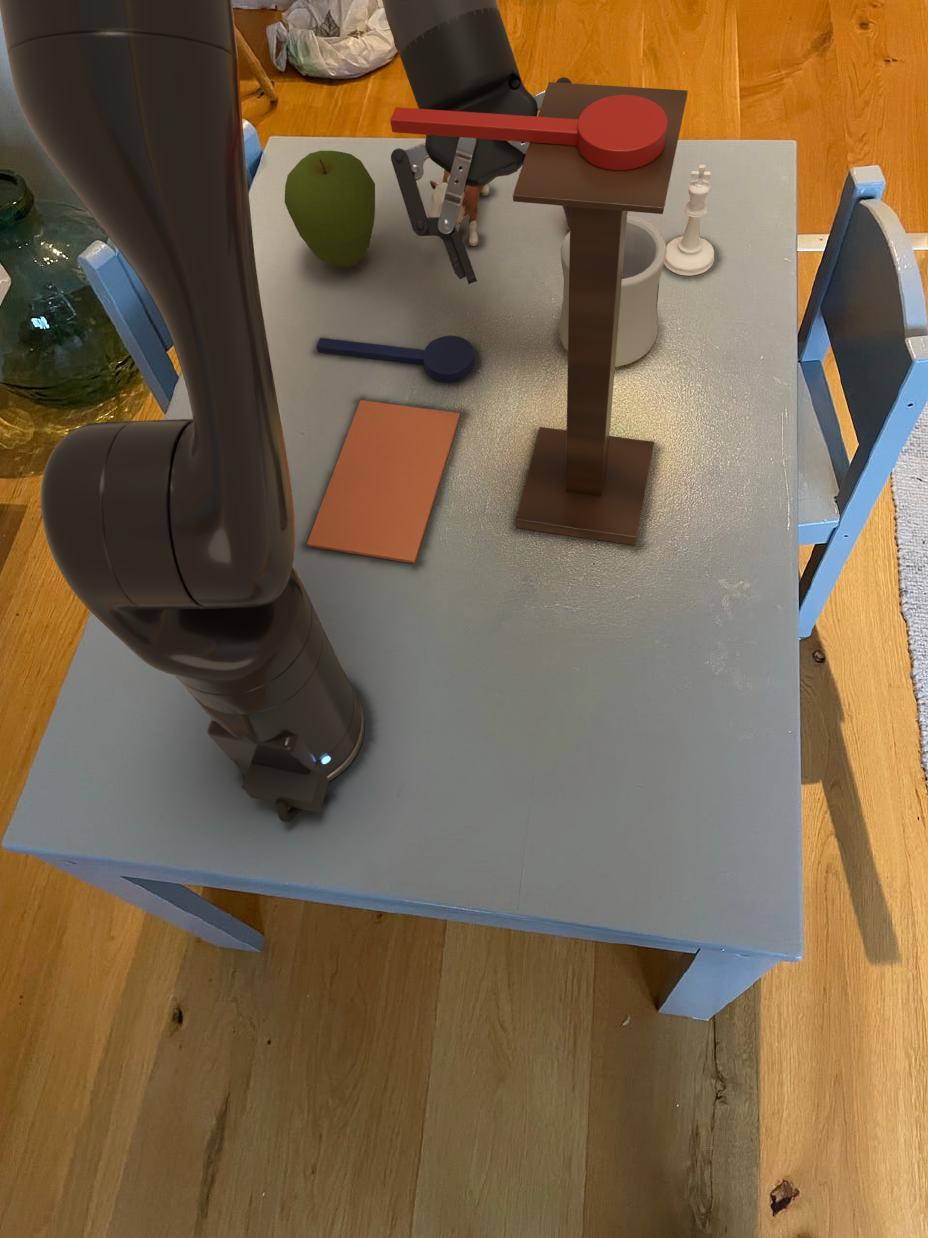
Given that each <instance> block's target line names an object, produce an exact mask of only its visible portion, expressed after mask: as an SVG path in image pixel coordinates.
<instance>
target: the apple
mask: <svg viewBox="0 0 928 1238" xmlns="http://www.w3.org/2000/svg"><path fill="white" fill-rule="evenodd" d="M286 176H287V177H286V180H285V185H284V205H285V207H286V209H287V212H288V214H289V217H290V218H291V221H292V223H293V225H294V226H295V229H296V231H297V233H298V235H299V236H300V238H301V239H302V240H303V242H304V243H305V244H306V245H307V247H308V248H309V249H310V251H311V252H312V253H313V255H314V256H315V257H316V258H317V260H320V261H322V262H324V263H326V264H329V265H331V266H333V267H335V268H337V269H338V268H339V269H344V268H349V267H354V265H356V264H357V263H359V261H360V260H361V259H362V258H363V257H364V256H365V254H366V253H367V251H368V250H369V249H370V245H371V240H372V235H373V231H374V225H375V219H376V215H375V214H376V182H375V180H373V178H372V176H371V175H370V173H369V171H368V169H367V168H366V167H365V165H364V163H363V162H362V160H361V159H359V158H357V157H356V156H354V155H353V154H352V153H348V152H344V151H338V150H317V151H314V152H310V153H309V154H307V155H306V156H304V157H303V158H301V159H300V160H299V162H297V163H296V165H295V166H294V167H293V168H292V169H291V171H290V172H289V173H288V174H287V175H286Z"/></svg>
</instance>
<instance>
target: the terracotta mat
mask: <svg viewBox="0 0 928 1238" xmlns="http://www.w3.org/2000/svg"><path fill="white" fill-rule="evenodd" d="M460 418H461V413H460V412H453V411H447V410H439V409H433V408H432V409H431V408H423V407H415V406H408V405H400V404H394V403H393V404H392V403H384V402H377V401H371V400H364V399H363V400H362V399H360V400H359V403H358V406H357V409H356V411H355V414H354V416H353V419H352V422H351V424H350V426H349V429H348V432H347V435H346V438H345V440H344V443H343V446H342V448H341V451H340V454H339V457H338V459H337V462H336V464H335V467H334V470H333V473H332V475H331V478H330V481H329V482H328V483H329V484H328V486H327V489H326V491H325V493H324V497H323V499H322V502H321V505H320V507H319V510H318V513H317V516H316V518H315V520H314V523H313V526H312V529H311V533H310V535H309V537H308V539H307V542H306V545H307V547H310V548H316V549H322V550H328V551H335V552H339V553H340V552H341V553H347V554H353V555H359V556H364V557H365V556H366V557H371V558H379V559H383V560H389V561H395V562H401V563H402V562H403V563H408V564H416V563H417V559H418V556H419V553H420V549H421V546H422V543H423V539H424V535H425V532H426V529H427V525H428V524H429V520H430V517H431V513H432V509H433V508H434V507H433V506H434V503H435V499H436V497H437V493H438V490H439V488H440V483H441V482H442V481H441V480H442V477H443V474H444V471H445V467H446V464H447V461H448V457H449V454H450V451H451V448H452V444H453V441H454V438H455V435H456V431H457V428H458V424H459V422H460Z"/></svg>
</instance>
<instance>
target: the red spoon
mask: <svg viewBox="0 0 928 1238" xmlns="http://www.w3.org/2000/svg"><path fill="white" fill-rule="evenodd" d="M389 120H390V121H389V123H390V126H391V132H392V133H396V134H400V133H401V134H410V135H411V134H412V135H425V136H426V135H437V136H450V137H464V138H478V139H492V140H505V141H519V142H533V143H546V144H560V145H574V146H577V147H578V150H579V152H580V154H581V155H582V157H583V158H584V159H585V160H587V161H588V162H589V163H591V164H593V165H595V166H597V167H600V168H603V169H608V170H630V169H635V168H639V167H642V166H644V165H647V164H649V163H650V162H652V161H653V160H655V159H656V158H657V157H658V156H659V155H660V154H661V153H662V151H663V149H664V147H665V143H666V134H667V125H668V120H667V116H666V114H665V112H664V110H663V109H662V108H661V107H660V106H659V105H658V104H656V103H655V102H653V101H651V100H649V99H646V98H643V97H639V96H632V95H617V96H611V97H606V98H603V99H600V100H598V101H596V102H594V103H592V104H591V105H589V106H588V107H587V108H586V109H585V110H584V111H583V112H582V113H581V115H580V117H579V119H563V118H548V117H538V116H537V117H534V116H519V115H504V114H489V113H474V112H460V111H445V110H430V109H419V108H416V107H415V108H413V107H401V106H397V107H394V110H393V112H392V114H391V116H390V119H389Z"/></svg>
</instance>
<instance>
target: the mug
mask: <svg viewBox="0 0 928 1238" xmlns="http://www.w3.org/2000/svg"><path fill="white" fill-rule="evenodd" d="M666 246H667V242H666V240H665V238H664V237H663V234H662V232H661V231H660V230H658V228H657V227H656V226H655V225H653V224H652V223H650V222H648V221H646V220H645V219H643V218H641V217H638V216H634V215H631V214H627V222H626V234H625V247H624V260H623V272H622V285H621V297H620V310H619V322H618V335H617V347H616V360H615V368H618V367H621V366H626V365H629V364H630V365H631V364H632V363H634V362H635V361H638V360H640V359H641V358H643V356H644V355H646V354H647V353H648V352H650V350H651V348H652V347H653V345H654V344H655V342H656V339H657V335H658V331H659V313H658V299H659V291H660V290H659V289H660V279H661V277H662V272H663V268H664V266H665V264H664V261H665V257H666V253H667V250H666ZM569 257H570V231H569V232H568V233H567V234H566V236H565V237H564V238H563V241H562V243H561V246H560V261H561V269H562V276H563V295H562V296H563V297H562V304H561V311H560V315H559V323H558V324H559V325H558V329H559V331H558V332H559V338H560V341H561V343H562V345H563V348H564V349H565V350H566V352H568V316H569Z"/></svg>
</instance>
